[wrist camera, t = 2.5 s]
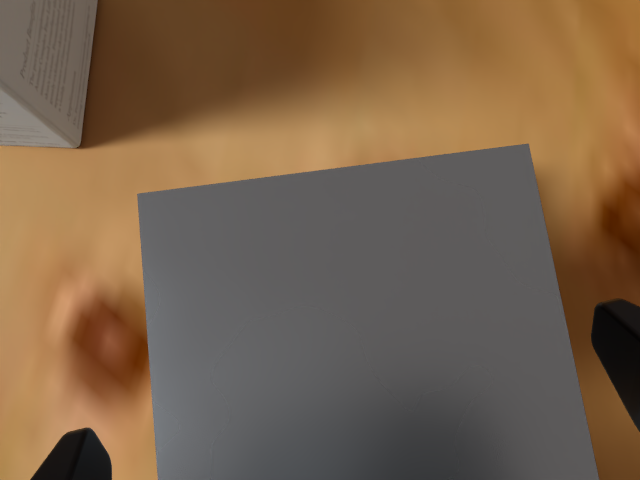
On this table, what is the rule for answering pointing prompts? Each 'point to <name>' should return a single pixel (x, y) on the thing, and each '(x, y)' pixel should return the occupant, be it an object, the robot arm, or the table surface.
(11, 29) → the skincare box
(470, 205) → the end cover
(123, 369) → the table surface
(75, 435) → the robot arm
